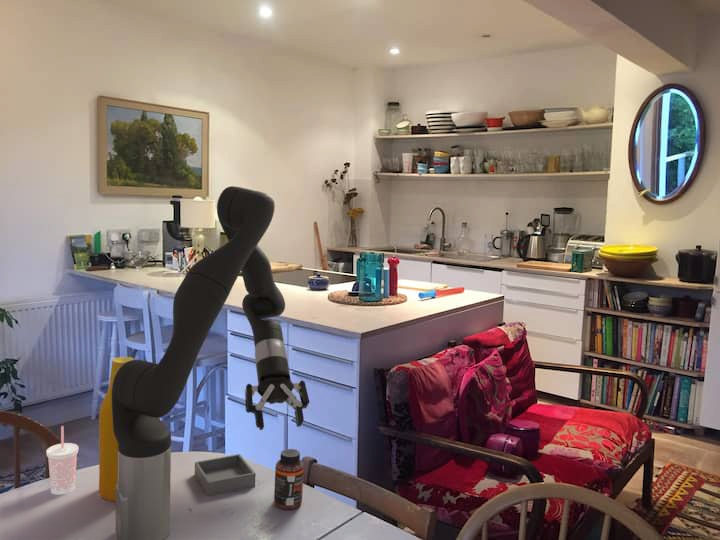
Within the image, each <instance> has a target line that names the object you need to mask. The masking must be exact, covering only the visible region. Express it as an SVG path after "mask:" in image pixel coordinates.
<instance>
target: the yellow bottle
mask: <svg viewBox="0 0 720 540" xmlns="http://www.w3.org/2000/svg"><path fill="white" fill-rule="evenodd" d="M131 360H135V358H133V357H130V356H122V357H121V356H120V357H115V358H113V359H112V361H111V368H110V376H109V384H108V385H109V386H108V390H107V392H106V394H105V395H104V398H103V400H102V401H101V404H100V409H99V414H98V418H99V419H98V421H99V422H98V423H99V424H98V425H99V426H98V432H99V435H98V438H99V439H98V442H99V444H98V445H99V447H98V448H99V449H98V450H99V451H98V454H99V456H98V457H99V459H98V460H99V461H98V463H99V467H98V469H99V474H98V475H99V477H98V481H99V482H98V490H99V495H100V496H101V498H102V499H104V500H106V501H109V502H116V484H118V442H117V440H116V438H115V435H114V431H113V416H112V385H113V381H114V378H115V375H116V373H117V371H118V370H119V368H120V367H121V366H122V365H123V364H125V363H126V362H128V361H131Z"/></svg>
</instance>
